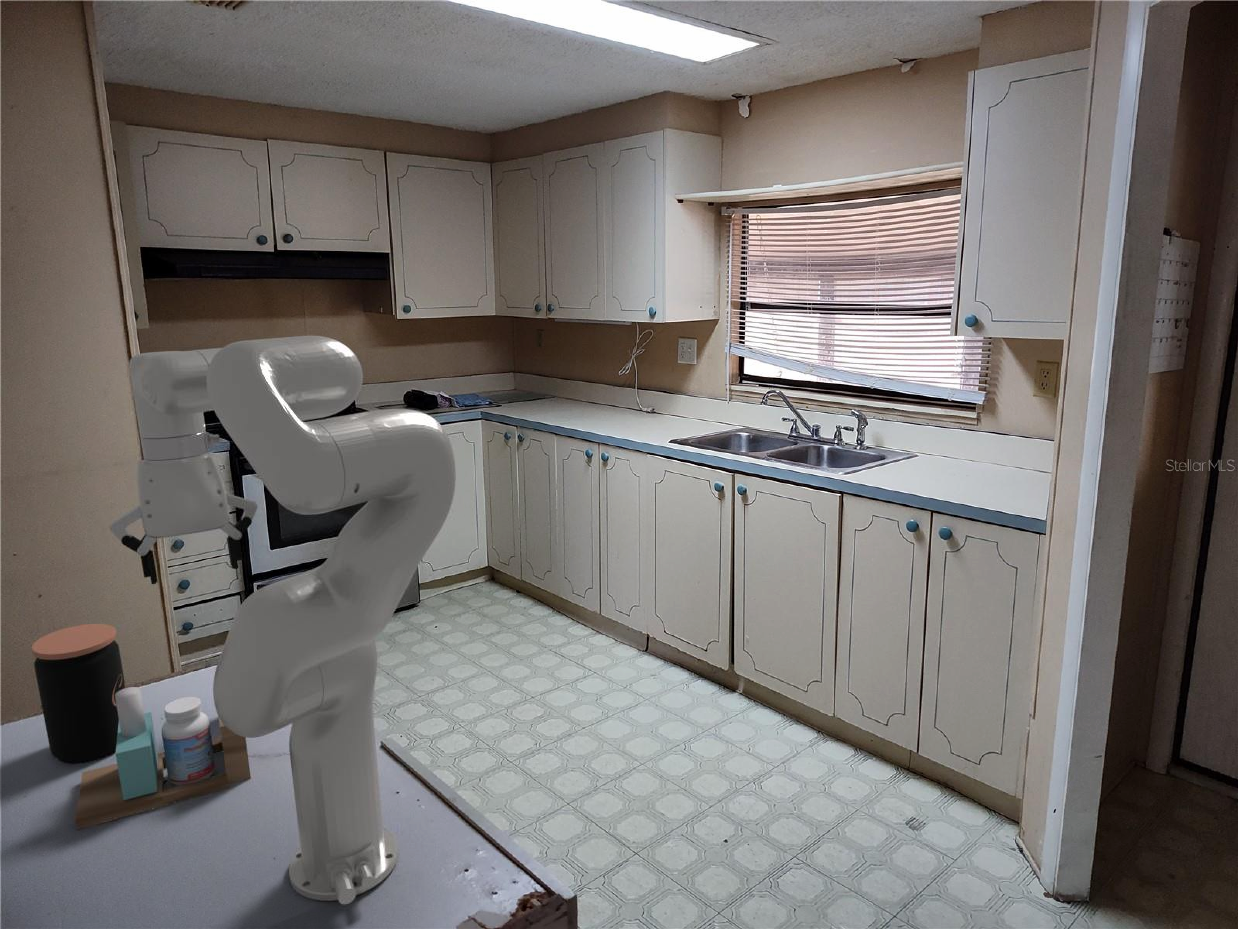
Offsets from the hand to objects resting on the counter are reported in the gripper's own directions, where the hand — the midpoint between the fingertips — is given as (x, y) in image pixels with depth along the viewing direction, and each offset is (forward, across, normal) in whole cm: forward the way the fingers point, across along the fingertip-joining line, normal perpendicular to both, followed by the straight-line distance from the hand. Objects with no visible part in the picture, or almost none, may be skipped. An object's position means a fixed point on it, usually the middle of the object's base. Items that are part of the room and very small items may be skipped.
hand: (195, 573), depth 110 cm
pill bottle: (+31, +4, -5) cm, 32 cm away
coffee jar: (+31, +17, -22) cm, 41 cm away
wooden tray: (+31, +7, -5) cm, 32 cm away
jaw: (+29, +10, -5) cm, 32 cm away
